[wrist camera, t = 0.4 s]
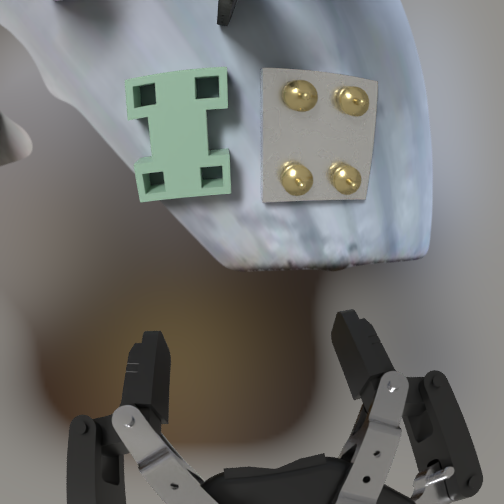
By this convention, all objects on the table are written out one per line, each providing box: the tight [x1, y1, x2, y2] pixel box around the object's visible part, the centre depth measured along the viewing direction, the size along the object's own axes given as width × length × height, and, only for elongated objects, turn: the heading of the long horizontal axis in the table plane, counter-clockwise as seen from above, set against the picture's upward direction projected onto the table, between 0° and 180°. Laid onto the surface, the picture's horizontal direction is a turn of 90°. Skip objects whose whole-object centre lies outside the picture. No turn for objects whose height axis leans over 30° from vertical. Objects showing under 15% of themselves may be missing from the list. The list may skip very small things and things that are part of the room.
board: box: [125, 67, 231, 202], centre depth 27 cm, size 10×14×3 cm
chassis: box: [261, 68, 378, 203], centre depth 28 cm, size 14×16×5 cm
